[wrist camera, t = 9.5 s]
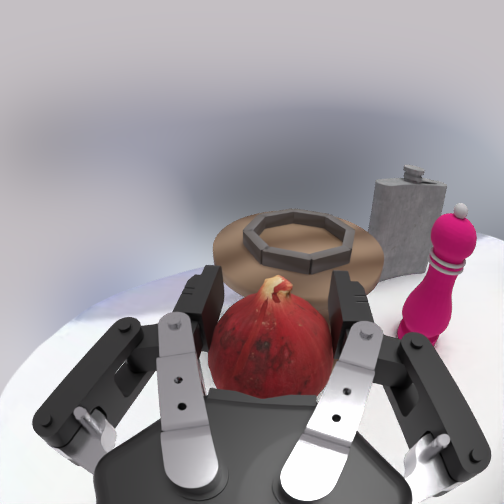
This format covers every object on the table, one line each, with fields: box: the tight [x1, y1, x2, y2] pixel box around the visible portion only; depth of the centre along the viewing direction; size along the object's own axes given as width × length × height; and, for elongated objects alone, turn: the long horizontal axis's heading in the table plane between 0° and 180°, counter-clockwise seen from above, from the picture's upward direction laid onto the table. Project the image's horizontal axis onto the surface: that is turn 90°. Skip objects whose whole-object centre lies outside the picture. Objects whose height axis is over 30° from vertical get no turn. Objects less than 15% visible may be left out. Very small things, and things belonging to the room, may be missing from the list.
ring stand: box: [213, 209, 384, 376], centre depth 34 cm, size 18×18×16 cm
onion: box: [208, 275, 334, 399], centre depth 13 cm, size 6×6×8 cm
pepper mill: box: [397, 203, 477, 346], centre depth 31 cm, size 7×7×20 cm
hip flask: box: [368, 165, 447, 282], centre depth 45 cm, size 16×4×20 cm, turn 103°
